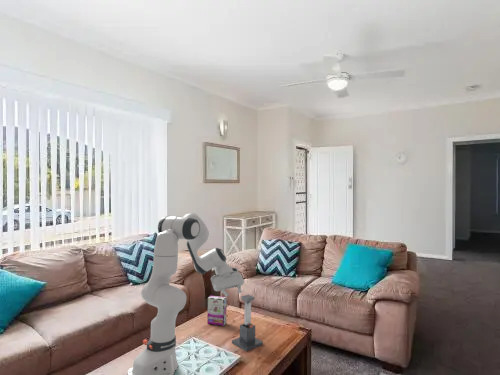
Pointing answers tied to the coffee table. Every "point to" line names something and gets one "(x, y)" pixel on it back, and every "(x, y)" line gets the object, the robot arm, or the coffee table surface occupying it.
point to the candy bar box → (217, 310)
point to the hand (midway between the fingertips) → (233, 294)
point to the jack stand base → (247, 338)
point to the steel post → (247, 309)
